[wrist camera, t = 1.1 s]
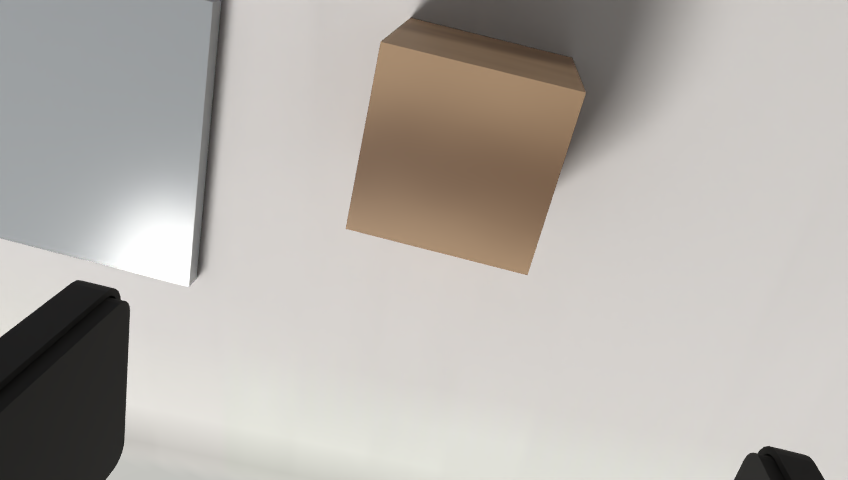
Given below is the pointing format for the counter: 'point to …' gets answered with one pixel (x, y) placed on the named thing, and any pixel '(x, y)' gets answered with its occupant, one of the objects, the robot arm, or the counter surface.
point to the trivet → (107, 129)
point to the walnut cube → (464, 143)
